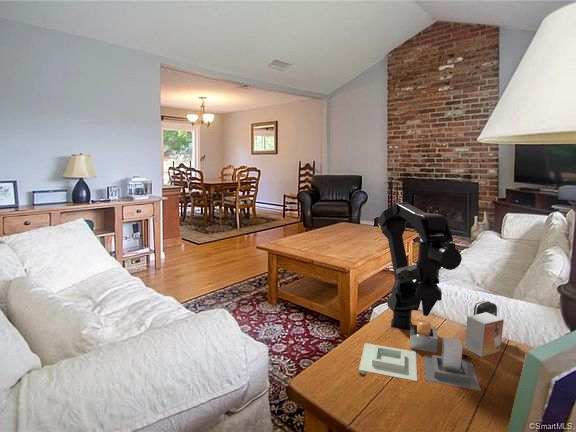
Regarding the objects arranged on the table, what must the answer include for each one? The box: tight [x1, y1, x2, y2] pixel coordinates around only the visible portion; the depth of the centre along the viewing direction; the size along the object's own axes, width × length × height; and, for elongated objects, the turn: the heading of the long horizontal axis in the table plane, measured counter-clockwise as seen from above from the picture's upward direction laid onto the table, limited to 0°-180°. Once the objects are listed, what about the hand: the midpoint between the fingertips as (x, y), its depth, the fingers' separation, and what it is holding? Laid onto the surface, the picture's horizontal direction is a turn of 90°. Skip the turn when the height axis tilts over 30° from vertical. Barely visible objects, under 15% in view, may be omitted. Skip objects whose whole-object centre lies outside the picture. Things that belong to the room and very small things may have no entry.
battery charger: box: [472, 300, 498, 317], centre depth 107 cm, size 7×4×11 cm, turn 119°
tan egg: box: [416, 320, 432, 336], centre depth 101 cm, size 4×4×5 cm
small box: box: [464, 312, 505, 358], centre depth 99 cm, size 8×6×10 cm
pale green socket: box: [358, 342, 418, 382], centre depth 94 cm, size 14×14×2 cm
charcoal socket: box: [423, 354, 482, 392], centre depth 89 cm, size 12×12×2 cm
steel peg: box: [440, 336, 463, 374], centre depth 88 cm, size 4×4×8 cm
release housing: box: [409, 323, 439, 354], centre depth 102 cm, size 7×7×5 cm
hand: (425, 311), depth 100 cm, fingers open, 5 cm apart
